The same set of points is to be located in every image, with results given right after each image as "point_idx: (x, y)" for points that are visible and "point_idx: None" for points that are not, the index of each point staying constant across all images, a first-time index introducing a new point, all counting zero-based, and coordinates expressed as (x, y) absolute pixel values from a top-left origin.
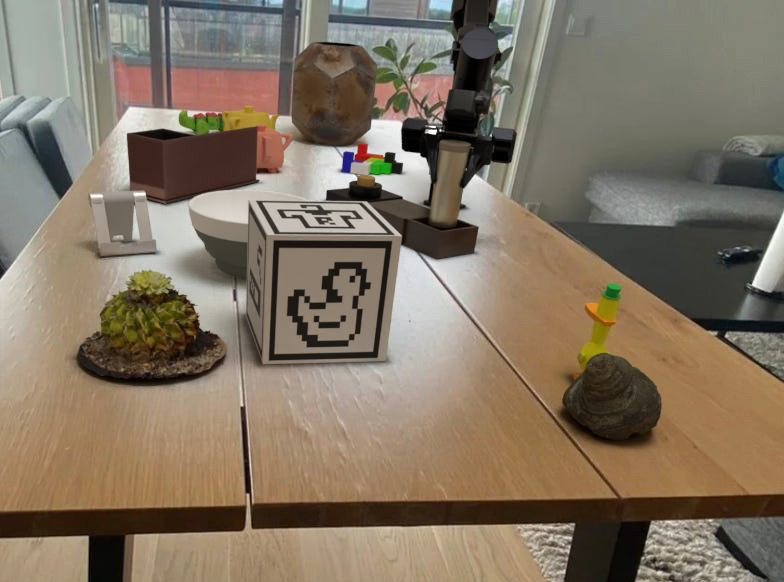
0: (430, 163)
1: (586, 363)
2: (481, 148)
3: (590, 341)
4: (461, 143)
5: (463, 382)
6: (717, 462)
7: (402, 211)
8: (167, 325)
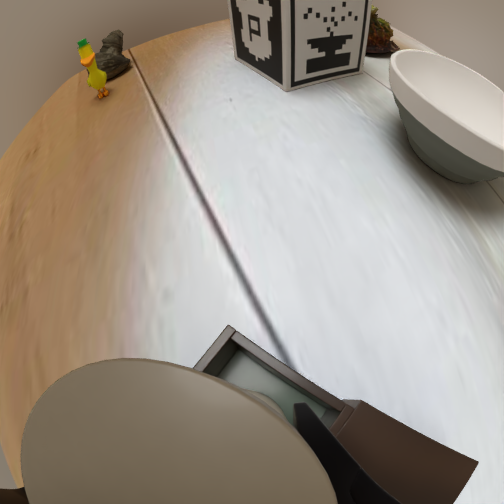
0: (349, 455)
1: (120, 36)
2: (1, 496)
3: (97, 69)
4: (83, 499)
5: (181, 62)
6: (77, 79)
7: (381, 471)
8: None
